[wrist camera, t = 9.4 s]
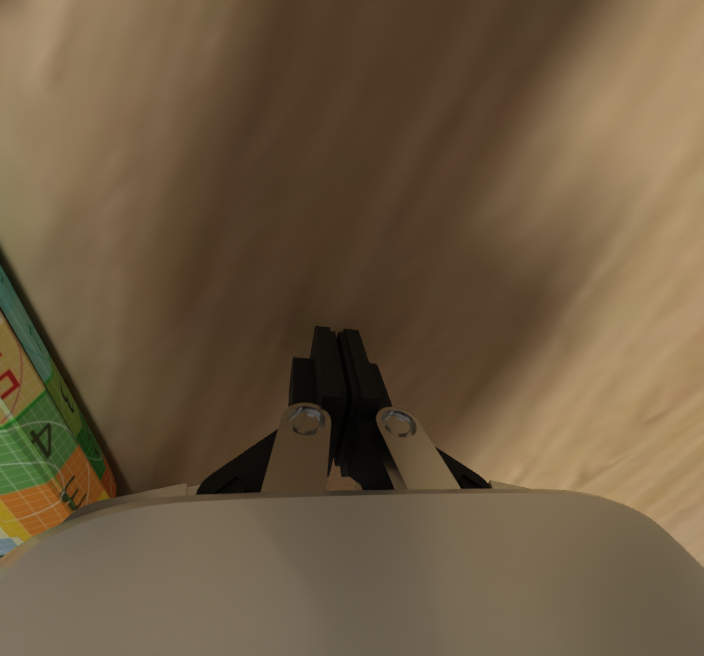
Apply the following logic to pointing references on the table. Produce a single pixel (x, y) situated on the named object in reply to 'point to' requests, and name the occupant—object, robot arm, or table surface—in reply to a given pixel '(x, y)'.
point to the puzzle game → (40, 435)
